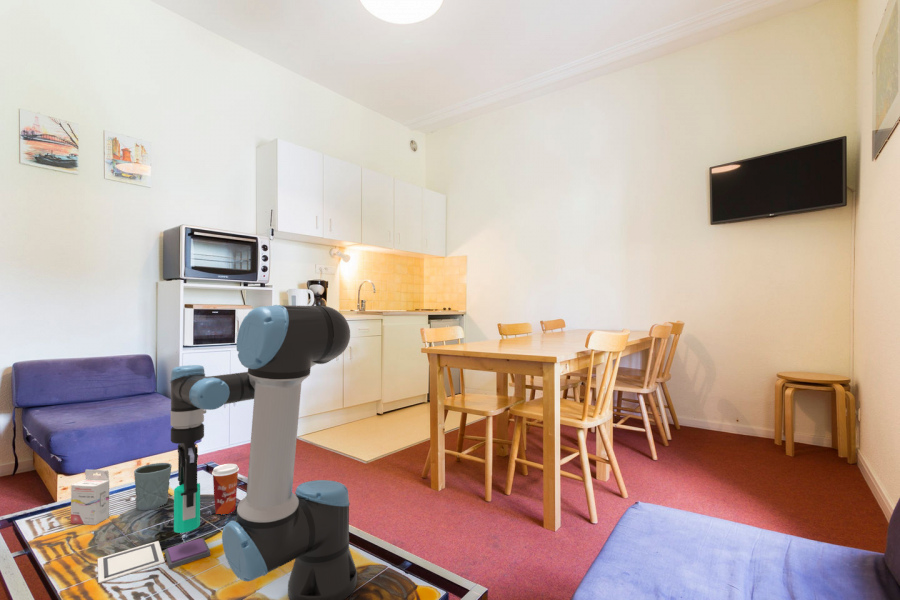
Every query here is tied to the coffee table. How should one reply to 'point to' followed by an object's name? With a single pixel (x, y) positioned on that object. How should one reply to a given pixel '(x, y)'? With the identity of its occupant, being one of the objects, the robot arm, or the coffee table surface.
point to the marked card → (129, 561)
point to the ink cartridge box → (90, 498)
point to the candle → (179, 524)
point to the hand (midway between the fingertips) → (187, 514)
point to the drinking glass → (152, 485)
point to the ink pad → (186, 552)
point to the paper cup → (225, 488)
